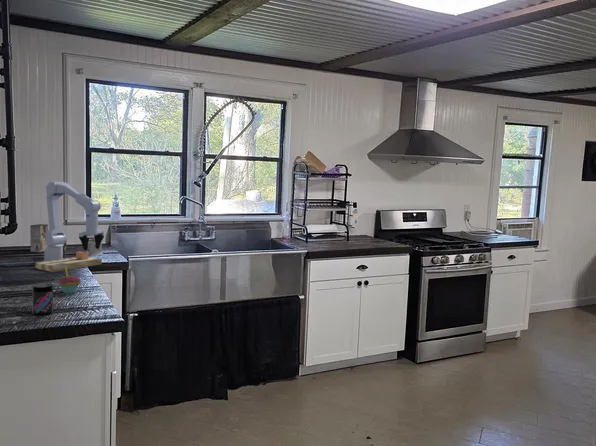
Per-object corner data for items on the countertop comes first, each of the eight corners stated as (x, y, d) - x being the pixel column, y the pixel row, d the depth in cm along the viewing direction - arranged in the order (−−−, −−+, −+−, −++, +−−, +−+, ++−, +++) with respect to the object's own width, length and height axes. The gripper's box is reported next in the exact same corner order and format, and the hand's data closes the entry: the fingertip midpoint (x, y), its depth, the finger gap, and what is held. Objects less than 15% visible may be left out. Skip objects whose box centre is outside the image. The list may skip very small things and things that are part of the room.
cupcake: (66, 295, 214) (66, 266, 213) (54, 292, 219) (54, 264, 217) (84, 291, 221) (85, 264, 220) (72, 288, 226) (72, 261, 225)
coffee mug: (60, 259, 292) (60, 241, 291) (46, 258, 294) (46, 240, 293) (73, 256, 304) (73, 239, 303) (59, 255, 305) (60, 238, 304)
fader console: (35, 268, 264) (35, 262, 264) (84, 261, 291) (84, 255, 291) (53, 272, 258) (53, 265, 258) (101, 264, 284) (101, 258, 284)
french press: (106, 253, 318) (107, 213, 316) (90, 255, 308) (90, 214, 306) (96, 251, 323) (97, 212, 321) (80, 253, 314) (80, 212, 311)
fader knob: (76, 258, 281) (76, 251, 280) (82, 257, 284) (82, 250, 284) (82, 259, 278) (82, 252, 278) (88, 258, 282) (88, 251, 281)
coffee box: (37, 249, 321) (37, 223, 320) (48, 250, 321) (48, 224, 320) (30, 251, 312) (30, 225, 311) (40, 252, 312) (40, 225, 311)
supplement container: (28, 315, 184) (28, 286, 183) (38, 310, 190) (38, 282, 189) (47, 316, 183) (47, 287, 182) (56, 311, 190) (56, 283, 189)
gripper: (85, 225, 263) (85, 251, 264) (108, 223, 276) (107, 248, 277) (76, 223, 266) (75, 250, 268) (99, 222, 279) (98, 247, 280)
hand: (91, 249), depth 272 cm, fingers open, 7 cm apart
